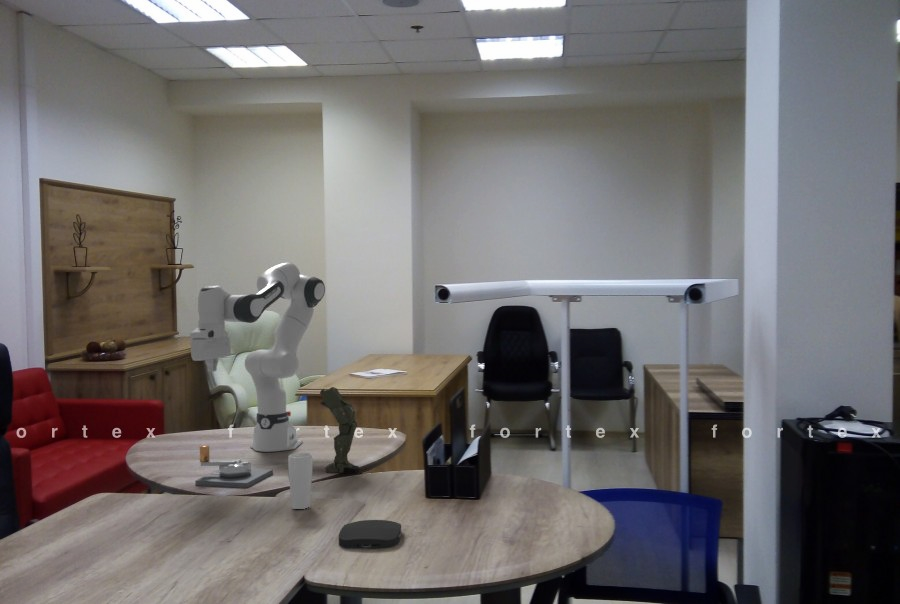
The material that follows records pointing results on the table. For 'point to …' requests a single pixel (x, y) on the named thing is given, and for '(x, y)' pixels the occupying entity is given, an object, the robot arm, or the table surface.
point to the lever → (225, 465)
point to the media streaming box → (370, 534)
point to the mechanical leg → (341, 430)
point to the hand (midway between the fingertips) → (212, 371)
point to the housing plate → (234, 479)
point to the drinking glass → (300, 479)
